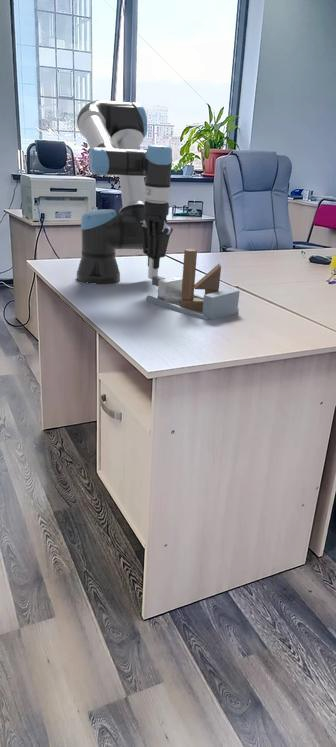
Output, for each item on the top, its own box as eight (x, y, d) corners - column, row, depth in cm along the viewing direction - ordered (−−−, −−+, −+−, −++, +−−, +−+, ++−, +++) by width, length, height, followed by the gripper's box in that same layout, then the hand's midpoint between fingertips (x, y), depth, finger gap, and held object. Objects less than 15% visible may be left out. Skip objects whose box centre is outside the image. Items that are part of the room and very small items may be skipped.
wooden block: (216, 314, 157) (222, 252, 150) (180, 312, 157) (184, 250, 149) (215, 310, 161) (220, 249, 153) (179, 308, 160) (183, 248, 152)
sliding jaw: (141, 297, 167) (142, 275, 165) (165, 292, 174) (167, 270, 172) (164, 305, 161) (165, 282, 158) (188, 299, 168) (189, 277, 165)
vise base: (146, 302, 164) (147, 278, 161) (178, 295, 173) (179, 272, 170) (207, 324, 148) (209, 298, 145) (238, 315, 158) (241, 290, 154)
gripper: (133, 198, 163) (130, 274, 173) (162, 205, 154) (158, 284, 165) (151, 197, 167) (147, 271, 178) (181, 203, 159) (175, 281, 169)
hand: (152, 277), depth 171 cm, fingers closed
